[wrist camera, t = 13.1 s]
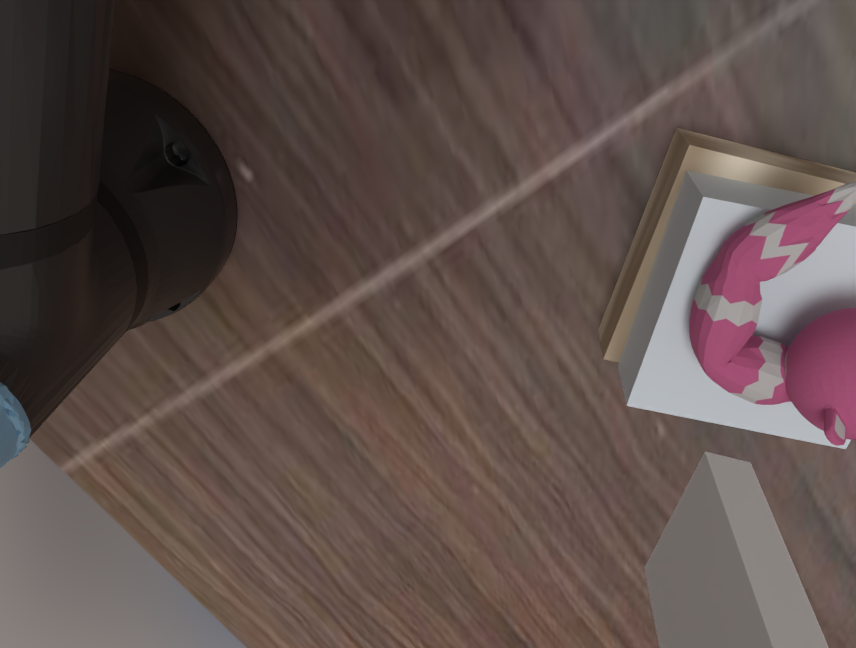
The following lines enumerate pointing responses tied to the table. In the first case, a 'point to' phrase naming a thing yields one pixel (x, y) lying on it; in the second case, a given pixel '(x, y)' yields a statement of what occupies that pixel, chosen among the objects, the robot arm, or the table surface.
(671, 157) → the lower slab
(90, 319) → the robot arm
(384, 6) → the table surface
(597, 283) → the table surface
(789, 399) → the toy
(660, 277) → the upper block
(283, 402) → the table surface
